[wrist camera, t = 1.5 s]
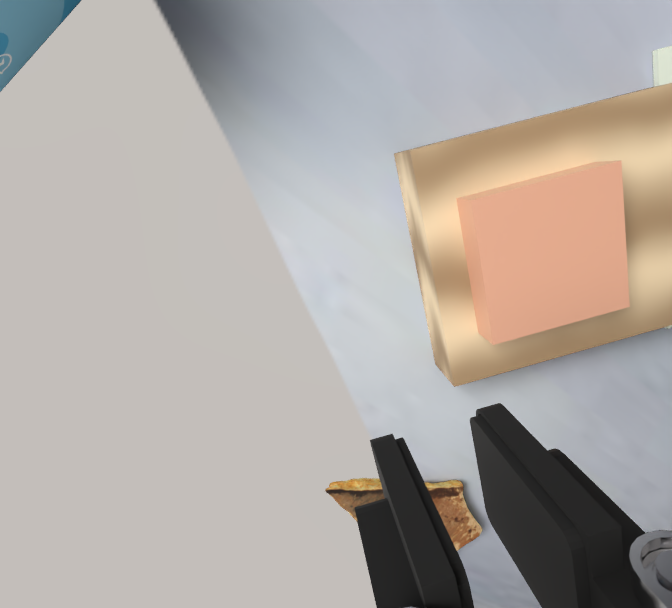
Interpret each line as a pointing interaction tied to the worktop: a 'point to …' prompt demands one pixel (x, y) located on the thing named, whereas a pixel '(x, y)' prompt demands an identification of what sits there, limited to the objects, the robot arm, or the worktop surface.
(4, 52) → the data package
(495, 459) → the robot arm
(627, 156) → the oak board
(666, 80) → the sage mat
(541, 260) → the terracotta coaster
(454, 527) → the shard
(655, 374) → the worktop surface
